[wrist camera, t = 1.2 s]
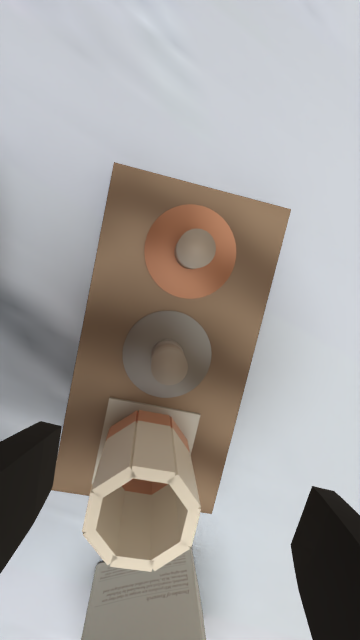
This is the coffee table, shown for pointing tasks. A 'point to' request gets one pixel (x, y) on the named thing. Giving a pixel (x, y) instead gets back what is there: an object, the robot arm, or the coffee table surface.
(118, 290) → the pin board
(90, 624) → the supplement box
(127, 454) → the sleeve
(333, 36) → the coffee table surface
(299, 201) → the coffee table surface
